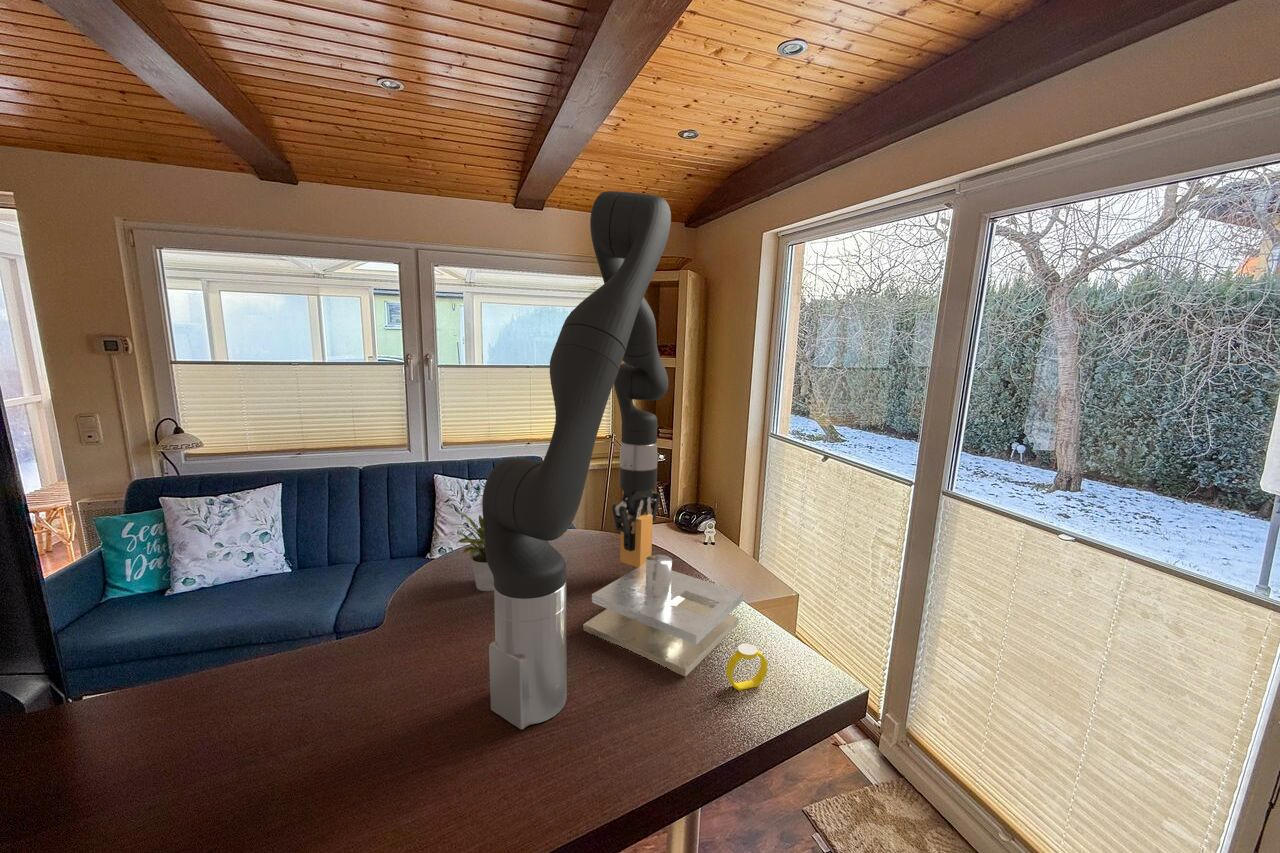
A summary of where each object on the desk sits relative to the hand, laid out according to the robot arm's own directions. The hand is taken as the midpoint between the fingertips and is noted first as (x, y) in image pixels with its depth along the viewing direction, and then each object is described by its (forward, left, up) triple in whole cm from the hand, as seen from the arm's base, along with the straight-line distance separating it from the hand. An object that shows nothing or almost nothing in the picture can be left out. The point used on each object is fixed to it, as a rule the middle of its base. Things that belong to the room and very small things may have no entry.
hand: (636, 546), depth 104 cm
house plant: (-20, +23, -7) cm, 31 cm away
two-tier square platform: (-12, -15, -7) cm, 20 cm away
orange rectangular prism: (0, 0, -3) cm, 3 cm away
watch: (-17, -32, -7) cm, 37 cm away
